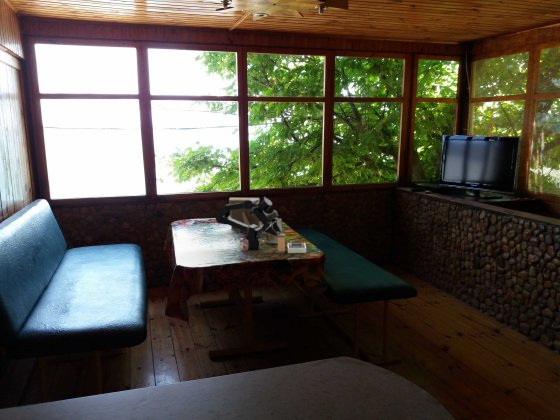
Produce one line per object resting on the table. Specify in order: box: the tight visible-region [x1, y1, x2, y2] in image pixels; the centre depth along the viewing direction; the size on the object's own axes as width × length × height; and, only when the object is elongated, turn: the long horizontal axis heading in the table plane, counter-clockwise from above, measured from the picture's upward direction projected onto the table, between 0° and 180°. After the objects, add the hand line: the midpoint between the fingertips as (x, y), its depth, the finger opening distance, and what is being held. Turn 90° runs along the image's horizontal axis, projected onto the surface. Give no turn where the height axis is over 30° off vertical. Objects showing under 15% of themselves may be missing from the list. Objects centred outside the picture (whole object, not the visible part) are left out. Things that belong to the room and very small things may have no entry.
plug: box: [277, 233, 286, 252], centre depth 259 cm, size 5×5×10 cm
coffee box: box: [265, 217, 283, 245], centre depth 278 cm, size 9×6×16 cm
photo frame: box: [228, 197, 262, 231], centre depth 310 cm, size 15×22×25 cm
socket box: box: [287, 242, 307, 254], centre depth 260 cm, size 11×12×4 cm
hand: (279, 233), depth 258 cm, fingers open, 9 cm apart
